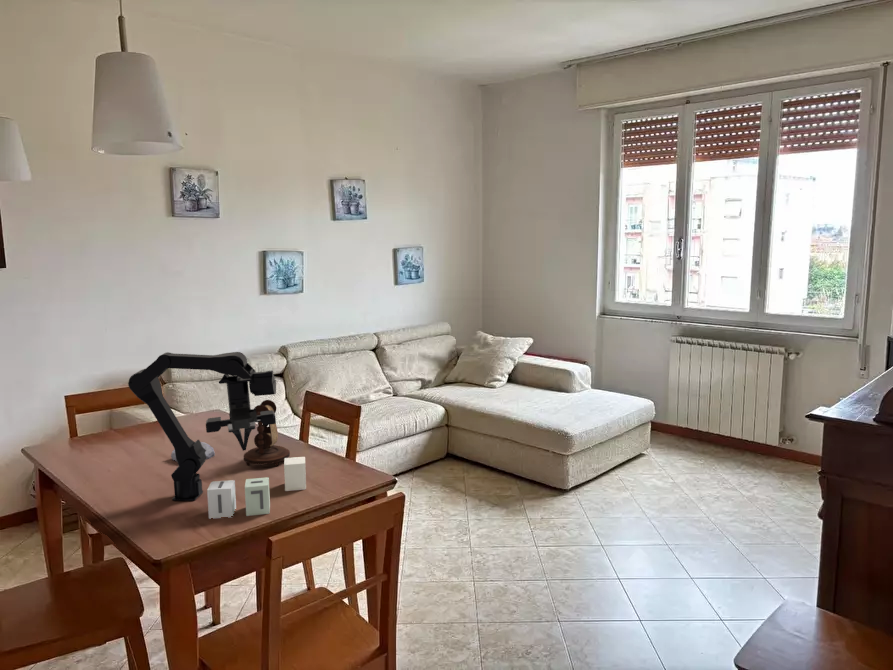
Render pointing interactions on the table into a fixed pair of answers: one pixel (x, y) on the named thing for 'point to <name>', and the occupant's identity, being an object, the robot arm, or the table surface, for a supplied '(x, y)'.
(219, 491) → the grey marked block
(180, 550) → the table surface
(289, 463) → the plain cream block
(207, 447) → the stone block
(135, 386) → the robot arm
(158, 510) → the table surface
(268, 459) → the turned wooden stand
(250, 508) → the sage marked block
